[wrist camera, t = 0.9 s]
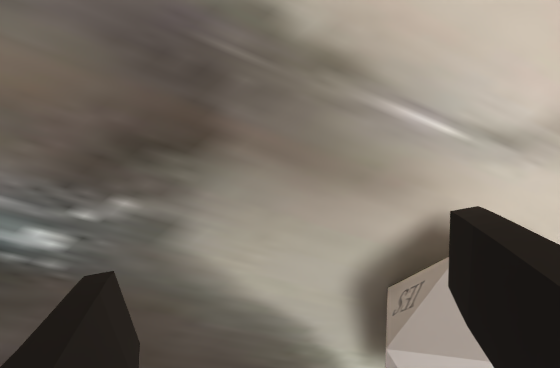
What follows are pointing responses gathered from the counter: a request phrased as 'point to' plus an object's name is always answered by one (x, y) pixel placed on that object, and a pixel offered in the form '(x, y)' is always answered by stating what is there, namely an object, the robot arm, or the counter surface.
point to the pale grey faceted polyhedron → (429, 325)
